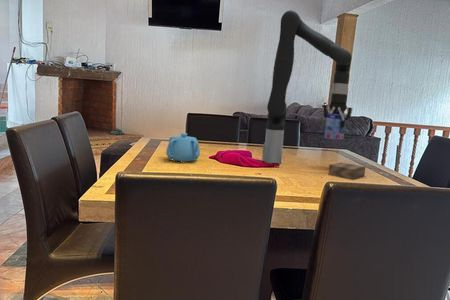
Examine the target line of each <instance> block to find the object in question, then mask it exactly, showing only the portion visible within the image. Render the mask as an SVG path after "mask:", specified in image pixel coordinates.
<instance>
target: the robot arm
mask: <svg viewBox="0 0 450 300" xmlns="http://www.w3.org/2000/svg"><path fill="white" fill-rule="evenodd" d="M296 36H297V37H299V38H301V39H302V40H303V41H305V42H306V43H308V44H309V45H311V46H312V47H313V48H314V49H316V50H317V51H319V52H321V53H322V54H324V55H325V56H327V57H329V58H330V59H332V60H333V61H334V62H335V71H334V75H333V83H332V88H331V96H330V104H329V105H327V104H325V105H323V118H325V119H327V114H336V112H337V111H338V113H337V114H340V116H341V118H342V121H341V128H344V127H345V128H346V125H345V122H346V123H347V121H349V120H350V119H351V117H352V114H353V107H349V106H347V102H348V94H349V81H350V69H351V64H352V60H353V59H352V56H353V55H352V54H351V53H350V52H349V51H348V50H347V49H345V48H343V47H342V46H341V45H338V44H336V43H335V42H334V41H333V40H331V39H330V38H328V37H327V36H326V35H323V34H322V33H320V32H318V31H316V30H314V29H313V28H311V27H310V26H309V25H307V24H306V23H305V22H304V21H303V19H301V17H300V15H299V14H298V12H296V11H294V10H287V11H285V12H284V13H283V14H282V16H281V18H280V31H279V40H278V45H277V49H276V54H275V58H274V65H273V73H272V83H271V84H272V85H271V89H270V95H269V99H268V101H267V102H268V103H267V108H266V109H267V121H266V125H265V138H264V139H265V140H264V143H263V146H262V157H261V162H263V161H266V162H268V163H267V164H272V163H278V164H277V165H279V164H282V159H283V148H284V135H285V126H286V117H287V116H286V115H287V110H288V109H287V106H288V105H287V103H286V95H287V89H288V85H289V83H290V80H291V76H292V72H293V67H294V61H295V39H296V38H295V37H296ZM329 110H330V111H329ZM345 112H346V114H345ZM345 115H347V116H346V117H345ZM266 162H265V163H266Z"/></svg>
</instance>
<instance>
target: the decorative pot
mask: <svg viewBox="0 0 450 300" xmlns="http://www.w3.org/2000/svg"><path fill="white" fill-rule="evenodd" d="M199 145H200V144H199V141H198V139H197V138H196V136H195V137H194V136H188V133H186V132H181V133H180V135H177V136H174V135H173V136H170V138H169V140H168V145H167V147H166V151H165V153H166V157H167V159H169V160H171V159H173V160H176V161H182V162H195V160H196V161H197V160H198V159H199V157H200V155H201V150H200V147H199Z"/></svg>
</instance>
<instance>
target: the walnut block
mask: <svg viewBox="0 0 450 300" xmlns="http://www.w3.org/2000/svg"><path fill="white" fill-rule="evenodd" d="M328 165H329V166H328V175H329V176H333V177H337V178H342V179H347V180H353V181H354V180H358V179H361V178H364V177H365V174H366V166H364V165H363V166H362V165H357V164H352V163H348V162H336V163H331V164H328Z"/></svg>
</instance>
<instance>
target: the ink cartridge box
mask: <svg viewBox="0 0 450 300" xmlns="http://www.w3.org/2000/svg"><path fill="white" fill-rule="evenodd" d="M337 113H338V111H337V112H336V114H329V113H328V114H327V118H325V119H326V121H325V128H324V136H323V138H324V139H329V140H344V138H345V131H346V125H347V124H346V123H347V121H346V122H345V127H344V128H341V121H342V118H341V116H340V114H337ZM346 116H347V114H345V117H346Z"/></svg>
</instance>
